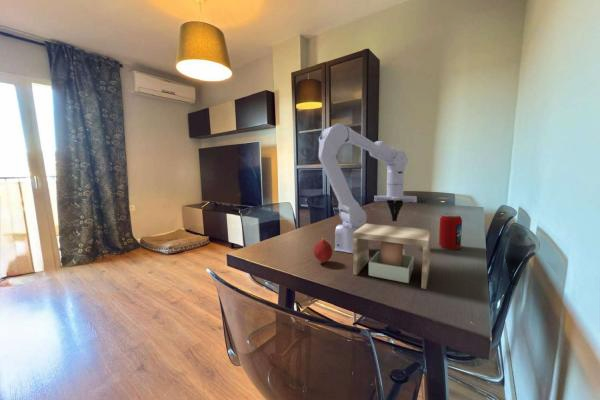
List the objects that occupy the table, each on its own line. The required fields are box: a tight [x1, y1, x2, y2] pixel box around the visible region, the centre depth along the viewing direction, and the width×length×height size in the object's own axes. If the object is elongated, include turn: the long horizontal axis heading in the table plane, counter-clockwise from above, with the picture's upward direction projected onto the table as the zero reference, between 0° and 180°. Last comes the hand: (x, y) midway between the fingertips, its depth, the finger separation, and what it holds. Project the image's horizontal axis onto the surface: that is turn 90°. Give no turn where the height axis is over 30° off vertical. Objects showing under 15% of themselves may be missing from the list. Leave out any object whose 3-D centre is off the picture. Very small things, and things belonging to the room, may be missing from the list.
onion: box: [313, 237, 333, 264], centre depth 77 cm, size 6×6×8 cm
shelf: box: [352, 223, 432, 290], centre depth 68 cm, size 18×12×12 cm, turn 59°
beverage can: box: [438, 212, 463, 250], centre depth 88 cm, size 7×7×12 cm
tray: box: [368, 248, 415, 284], centre depth 71 cm, size 10×15×4 cm, turn 149°
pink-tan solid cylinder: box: [380, 241, 404, 267], centre depth 68 cm, size 6×6×8 cm
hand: (394, 220), depth 92 cm, fingers closed
